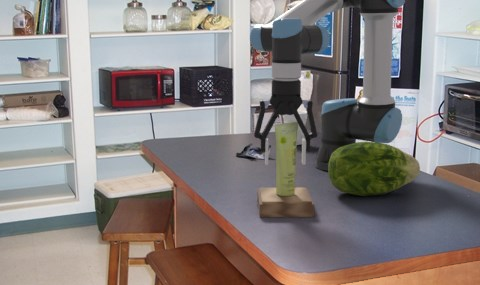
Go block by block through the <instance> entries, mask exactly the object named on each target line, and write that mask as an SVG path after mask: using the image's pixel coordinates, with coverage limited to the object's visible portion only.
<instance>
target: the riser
mask: <svg viewBox="0 0 480 285" xmlns="http://www.w3.org/2000/svg"><path fill="white" fill-rule="evenodd" d="M256 190H257V193H256V194H257V196H256V197H257V199H256V200H257V208H258V213H259V214H258V215H259V218H313V217H314V215H315V214H314V213H315V212H314V211H315V203H314V201H313V198H312V196H311V194H310V192H309V190H308V188H306V187H300V186H299V187H295V193H294V195H291V196H280V195H278V194H277V193H276V187H259V188H257V189H256Z"/></svg>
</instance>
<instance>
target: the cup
mask: <svg viewBox="0 0 480 285" xmlns="http://www.w3.org/2000/svg"><path fill="white" fill-rule="evenodd" d="M297 111H298V113H299V115H300V117H301V119H302V121H303V123H304V125H305V126H306V125H307V124H306V123H307V120H308V119H307V118H308V115H307V111H306V110H303V109H302V110H301V109H298V110H297ZM282 117H283V123H291V122H297V120H296V118H295V116H294V114H293V115H287V114H286V115H282ZM302 138H305V136H304V134H303V132H302V130H301V128H300V126H299V124H298V131H297V146H300V145H301V146H302Z"/></svg>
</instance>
